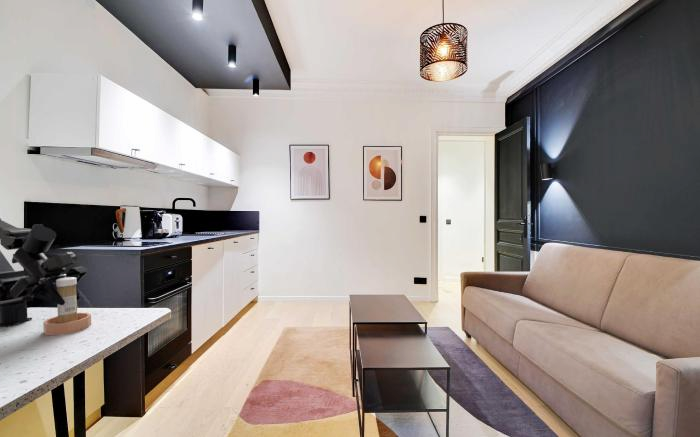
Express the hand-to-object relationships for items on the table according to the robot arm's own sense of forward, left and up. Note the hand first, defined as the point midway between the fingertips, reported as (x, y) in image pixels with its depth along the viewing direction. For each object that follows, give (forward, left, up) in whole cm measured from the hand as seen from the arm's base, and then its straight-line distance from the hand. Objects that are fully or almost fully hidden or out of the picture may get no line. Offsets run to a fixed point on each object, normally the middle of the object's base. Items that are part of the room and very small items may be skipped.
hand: (71, 301), depth 96 cm
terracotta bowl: (-1, 0, -8) cm, 8 cm away
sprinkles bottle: (-1, 0, -7) cm, 7 cm away
